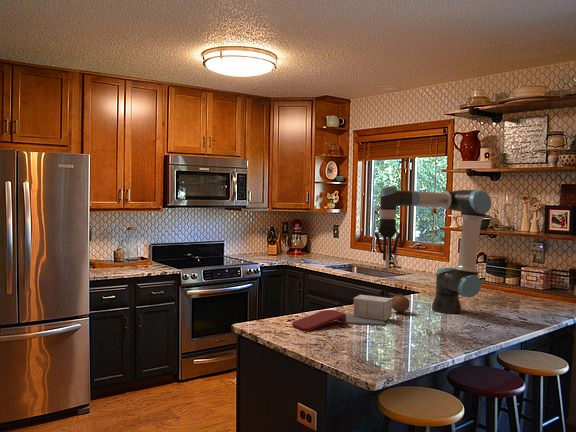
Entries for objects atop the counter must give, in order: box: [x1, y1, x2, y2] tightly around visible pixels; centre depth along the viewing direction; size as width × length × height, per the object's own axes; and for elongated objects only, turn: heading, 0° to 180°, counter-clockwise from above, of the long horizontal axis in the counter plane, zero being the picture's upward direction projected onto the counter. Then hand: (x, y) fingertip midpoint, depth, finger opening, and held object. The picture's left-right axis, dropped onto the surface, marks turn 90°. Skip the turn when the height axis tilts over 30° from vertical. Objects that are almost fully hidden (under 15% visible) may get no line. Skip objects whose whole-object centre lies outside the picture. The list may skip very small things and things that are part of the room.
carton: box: [291, 309, 347, 332], centre depth 241 cm, size 12×5×25 cm
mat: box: [343, 313, 386, 326], centre depth 252 cm, size 16×20×1 cm
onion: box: [391, 293, 410, 314], centre depth 270 cm, size 10×9×10 cm
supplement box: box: [352, 294, 393, 322], centre depth 257 cm, size 10×9×17 cm
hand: (386, 267), depth 250 cm, fingers closed
